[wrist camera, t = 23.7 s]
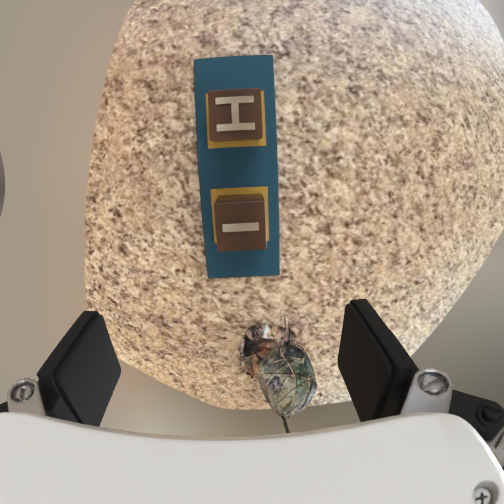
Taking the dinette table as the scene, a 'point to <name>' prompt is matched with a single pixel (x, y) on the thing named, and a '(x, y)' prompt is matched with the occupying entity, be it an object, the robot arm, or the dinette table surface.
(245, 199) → the tile
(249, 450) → the robot arm
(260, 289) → the dinette table surface
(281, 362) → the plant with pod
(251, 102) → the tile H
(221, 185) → the word mat
